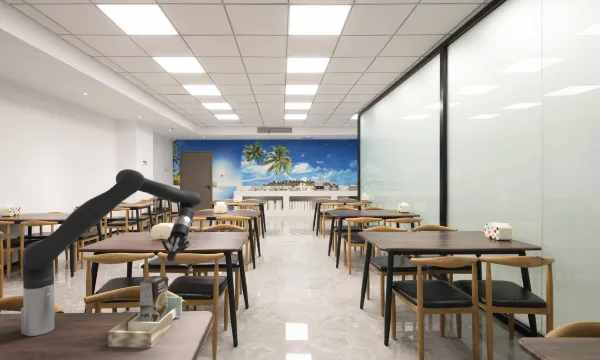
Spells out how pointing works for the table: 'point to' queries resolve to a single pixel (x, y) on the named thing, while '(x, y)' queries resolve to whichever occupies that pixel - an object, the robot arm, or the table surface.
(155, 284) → the coffee box
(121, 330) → the box
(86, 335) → the table surface
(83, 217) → the robot arm
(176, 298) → the drawer
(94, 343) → the table surface
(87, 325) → the table surface
